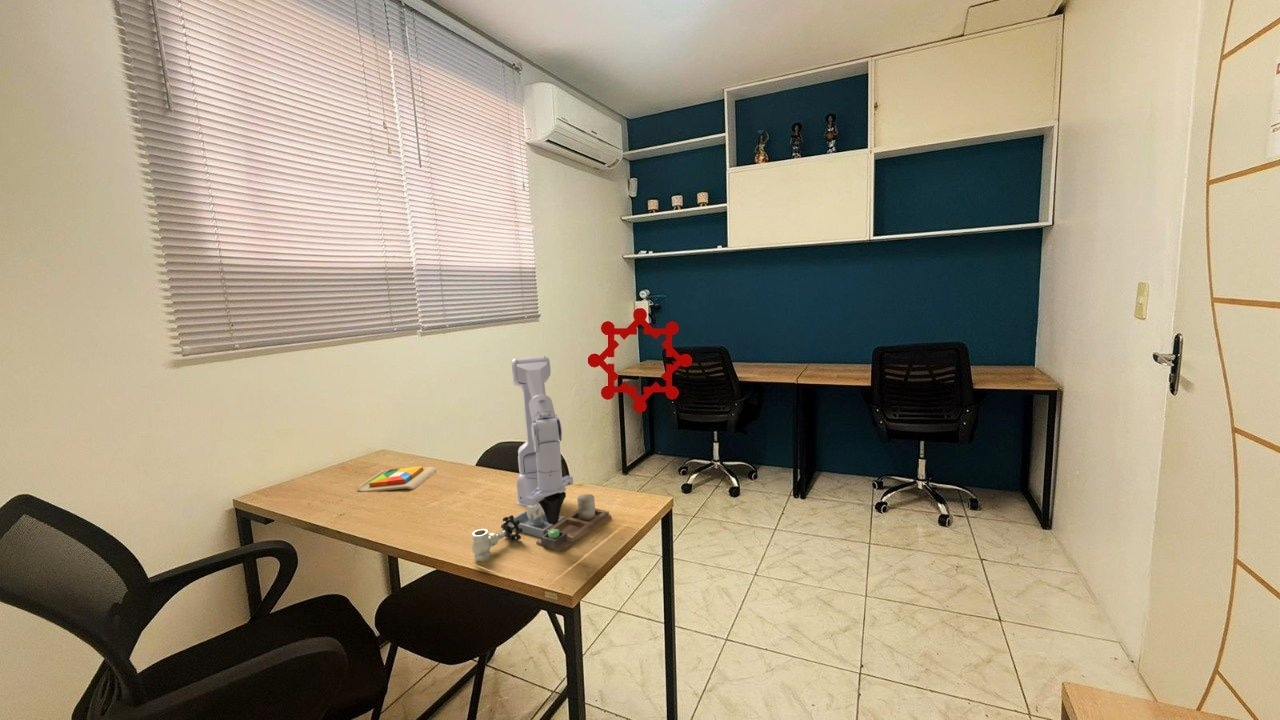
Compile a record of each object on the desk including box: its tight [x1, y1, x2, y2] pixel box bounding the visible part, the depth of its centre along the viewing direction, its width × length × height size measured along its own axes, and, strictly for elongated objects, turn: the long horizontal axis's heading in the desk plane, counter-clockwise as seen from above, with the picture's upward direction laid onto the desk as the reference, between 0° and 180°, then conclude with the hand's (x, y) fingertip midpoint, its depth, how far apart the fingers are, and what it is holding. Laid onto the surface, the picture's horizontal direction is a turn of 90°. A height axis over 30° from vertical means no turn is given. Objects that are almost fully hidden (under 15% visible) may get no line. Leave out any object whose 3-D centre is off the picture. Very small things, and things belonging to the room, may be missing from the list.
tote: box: [508, 509, 565, 539], centre depth 126 cm, size 12×8×2 cm
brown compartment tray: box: [535, 493, 612, 553], centre depth 123 cm, size 8×20×7 cm, turn 150°
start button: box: [548, 529, 559, 540], centre depth 116 cm, size 3×3×2 cm
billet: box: [525, 502, 545, 529], centre depth 126 cm, size 4×4×6 cm
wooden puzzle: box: [357, 465, 437, 493], centre depth 164 cm, size 18×19×4 cm
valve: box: [471, 514, 523, 562], centre depth 115 cm, size 7×7×12 cm
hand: (553, 522), depth 116 cm, fingers closed
